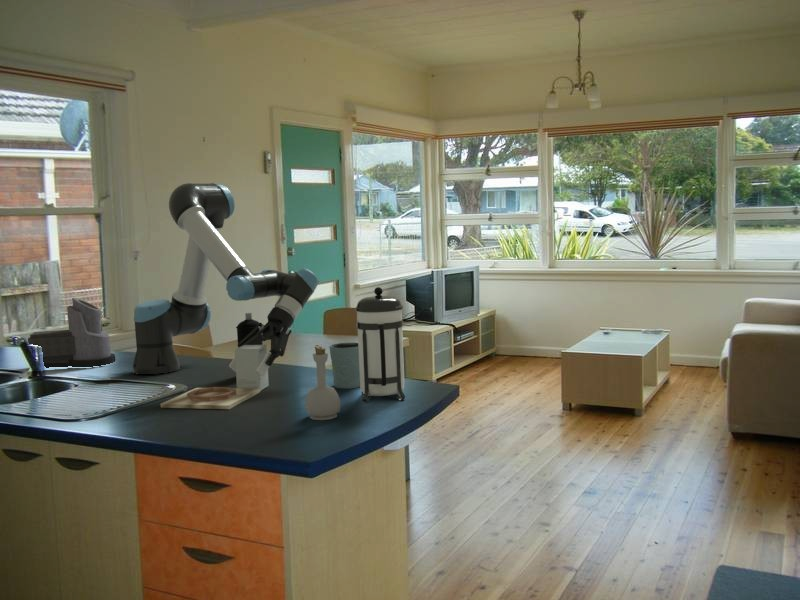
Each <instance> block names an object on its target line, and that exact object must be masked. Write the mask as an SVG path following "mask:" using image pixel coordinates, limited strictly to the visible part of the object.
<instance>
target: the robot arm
mask: <svg viewBox="0 0 800 600" xmlns="http://www.w3.org/2000/svg"><path fill="white" fill-rule="evenodd" d="M168 209H169V212H170V216H171V217H172V220H173V222H175V224H176V225H177V227H178V228H179V229H181V230H183V231H186V232H187V234H188V235H189V236H188V240H187V245H186V249H185V256H184V260H183V265H182V270H181V275H180V281H179V284H178V289H177V290H175V291H174V292H173V293H172V297H171V300H169V299H165V298H164V299H163V298H161V299H154V300H148V301H144V302H141V303H139V304H137V305H136V306H135V308H134V309H133V312H134V314H133V321H134V331H135V343H136V345H135V346H136V352H135V355H134V359H133V361H132V362H133V364H132V373H133V372H134V373H138V374H155V375H160V374H159V373H164V374H169V373H168V372H170V373H174V372H176V371H179V370H180V367H181V366H180V361H179V359H178V356H177V353H176V351H175V349H174V344H173V337H178V336H183V335H188V334H189V335H191V334H192V335H193V334H195V333H198V332H201V331H204V330H205V329H206V328H207V326H208V325H209V323H210V321H211V315H212V314H211V310H210V308H211V307H210V305H209V303H208V300H207V297H206V296H205V295H204V294H205V289H206V285H207V281H208V276H209V270H210V266H211V264H212V265H213V266H214V268H216V270H217V271H218V272H219V274H221V276H222V277H223V278H224V280H225V281H226V284H225V286H226V287H225V289H226V291H227V295H228V297H229V298H231V300H233V301H237V302H238V301H239V302H240V301H243V302H245V301H249V300H255V299H263V298H269V297H279V298H278V299H277V301H276V302H275V304H274V305H273V306H274V307H272V309H271V310H270V311H269V313H267V318H266V319H267V322H266V323H265V324H263V323H262V322H259V324H258V325H257V326H256V328H255V329H254V330H253V331H251V332H250V333H249V334H248V335H247V336H246V337H245V338H244V339H243V340H242V341H241V342H239V343H238V342H237V348H238V347H241V346H244V345H258V344H259V343H261V342H266V341H269V340H270V350H268V351H269V352H267V355H266V356H265V358H264V359H263V361H262V362H261V364H260V365H259V367H258V368H257V370H256V372H257V373H258V374H260V375H261V376H262V377H263V376H264V374H265V373H266V371H267V370H268V371H269V369H270V367H271V366H272V365H273V363H274V362H275V360H276V359H278V358H279V357H281V358H283V356H285V352H286V348H287V344H288V341H289V337H290V335H291V333H292V332H293V331H292V330H291V329H290V328H291V327H292V325H293V324H294V322H295V320H296V319H297V317H298V316H299V314H300V313H301V311H302V310H303V309H304V307H305V305H306V304H307V302H308V301H309V299H310V298H311V296H312V295H313V294H314V293H315V291H316V289H317V287H318V286H319V282H320V281H319V278H318V277H317V275H316V274H315V273H314V272H312V271H311V270H310V269H307V268H305V267H304V268H300V269H298V271H296V272H295V274H292V273H286V272H283V271H279V270H276V269H268V268H266V269H263V270H261V272H259V273H253V272H252V271H251V270H250V268H249V267H248V266H247V265H246V264H245V263H244V261H243V260H242V259H241V258H240V256H239V255H238V254H237V252H236V251H235V250H234V249H233V248H232V246H230V244H229V242H227V240H226V239H225V238H224V237H223V236H222V234H221V233H220V232H219V230H221V229H223V227H224V224H225V220H227V219H229V218H230V217H232V216H233V214H234V211H235V199H234V196H233V194H232V192H231V190H230V188H228V187H227V186H225V184H220V183H214V182H210V183H188V182H187V183H183V184H181V185H178V186H177V187H175V188H174V189H173V191H172V192H171V194H170V196H169V200H168ZM228 367H229V368H230V369H232V370H233V372H236V362H235V356H234V357H233V359H231V362H230V363H229V365H228ZM173 371H174V372H173ZM134 373H133V374H134Z"/></svg>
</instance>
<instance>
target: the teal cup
mask: <svg viewBox="0 0 800 600" xmlns="http://www.w3.org/2000/svg"><path fill="white" fill-rule="evenodd" d="M329 354H330V355H329V356H330V359H331V367H332V368H331V369H332V374H333V375H332V376H333V386H334V388H338V389H347V390H348V389H356V388H360V370H359V348H358V342H340V343H333V344H330V345H329Z"/></svg>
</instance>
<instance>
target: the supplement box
mask: <svg viewBox="0 0 800 600" xmlns="http://www.w3.org/2000/svg"><path fill="white" fill-rule="evenodd" d="M267 347H268V346H267V344H263V345H244V346H241V347H239V348H238V347H237V348H234V357H235V362H236V371H235V377H236V380H235V381H236V388H244V389H260V392H262V390H264V389H265V388H268V387H269V385H270V384H269V369H268V370H267V371H266V373H265V374H264V376H263V377H262V376H261V375H260V374H258V373H257V372H256V370H257V368H258V367H259V365H260V364H261V362H262V361H263V359H264V358H265V356H266V355H267V353H268V348H267Z"/></svg>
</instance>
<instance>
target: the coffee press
mask: <svg viewBox="0 0 800 600" xmlns="http://www.w3.org/2000/svg"><path fill="white" fill-rule="evenodd" d="M373 292H374V294H375V296H374V295H373V296H368V297H363V298H362V299H360V300H358V302H357V303H356V304H357V305H356V306H355V309H354V310H355V312H356V329H357V341H358V342H357V343H358V348H359V370H360V387H359V388H360V393H361V394H362V399H361V400H362V402H364V403H369V402H370V401H371V399H372V398H373V397H384V396H385V397H386V396H394V397H396V399H397V401H399V400H400V401H403V400H405V398H406V396H405V394H404V392H403V391H404V389H405V368H404V365H405V363H404V362H405V361H404V341H403V340H404V337H403V326H404V319H403V316H402V315H403V314H402V311H403V309H404V305H402V302H401V300H400V299H398V298H397V297H394V296H391V295H390V296H389V295H382V294H383V292H384V291H383V289H382V287H379V286H378V287H375V289H374V291H373Z"/></svg>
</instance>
